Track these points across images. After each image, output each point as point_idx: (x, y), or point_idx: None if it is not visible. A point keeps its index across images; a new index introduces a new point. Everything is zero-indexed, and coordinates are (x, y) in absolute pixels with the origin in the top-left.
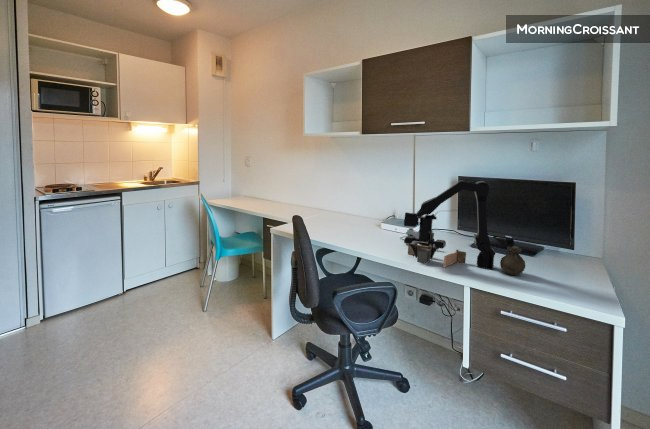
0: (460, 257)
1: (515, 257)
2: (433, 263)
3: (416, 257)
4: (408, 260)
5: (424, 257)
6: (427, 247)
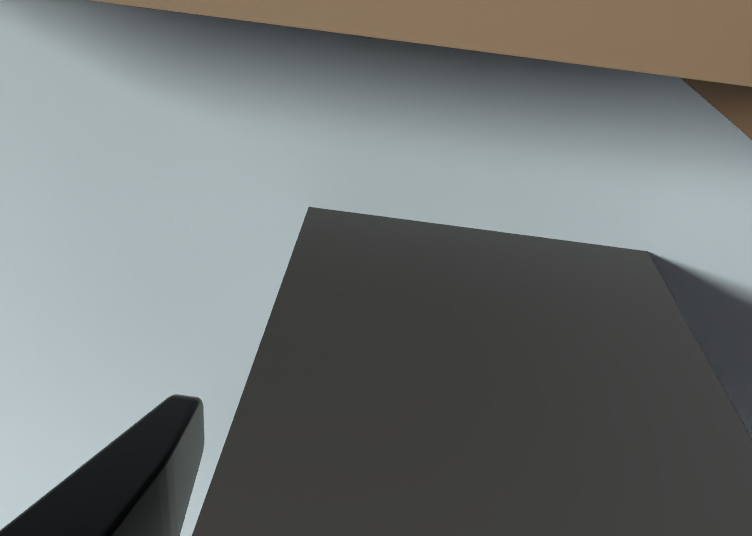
0: None
1: None
2: None
3: (199, 455)
4: None
5: None
6: (695, 59)
